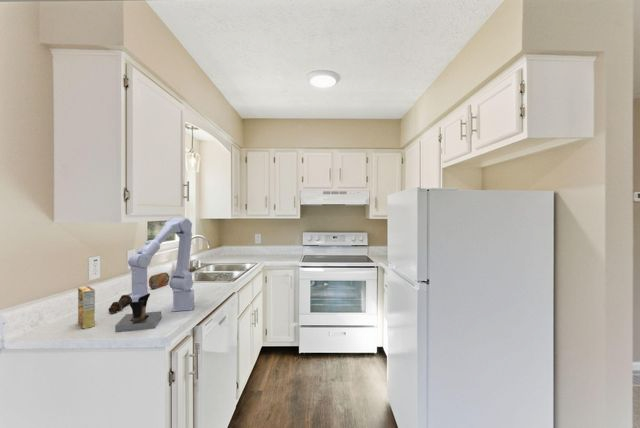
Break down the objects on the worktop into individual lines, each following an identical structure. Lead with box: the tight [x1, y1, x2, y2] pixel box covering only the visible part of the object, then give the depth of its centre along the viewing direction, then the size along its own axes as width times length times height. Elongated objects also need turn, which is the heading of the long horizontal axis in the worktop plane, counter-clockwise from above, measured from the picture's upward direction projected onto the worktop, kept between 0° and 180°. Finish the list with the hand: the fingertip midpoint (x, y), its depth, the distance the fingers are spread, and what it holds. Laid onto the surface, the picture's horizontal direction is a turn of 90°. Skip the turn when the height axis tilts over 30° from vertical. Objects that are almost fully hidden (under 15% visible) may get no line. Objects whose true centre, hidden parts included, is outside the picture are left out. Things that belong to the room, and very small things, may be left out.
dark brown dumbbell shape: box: [108, 294, 132, 314], centre depth 152 cm, size 6×5×15 cm
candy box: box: [77, 286, 96, 330], centre depth 130 cm, size 9×4×15 cm, turn 49°
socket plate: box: [114, 310, 163, 333], centre depth 132 cm, size 14×14×2 cm
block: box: [131, 305, 147, 321], centre depth 132 cm, size 4×4×7 cm
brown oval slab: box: [148, 272, 170, 290], centre depth 194 cm, size 15×3×8 cm, turn 167°
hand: (139, 314), depth 132 cm, fingers open, 7 cm apart
